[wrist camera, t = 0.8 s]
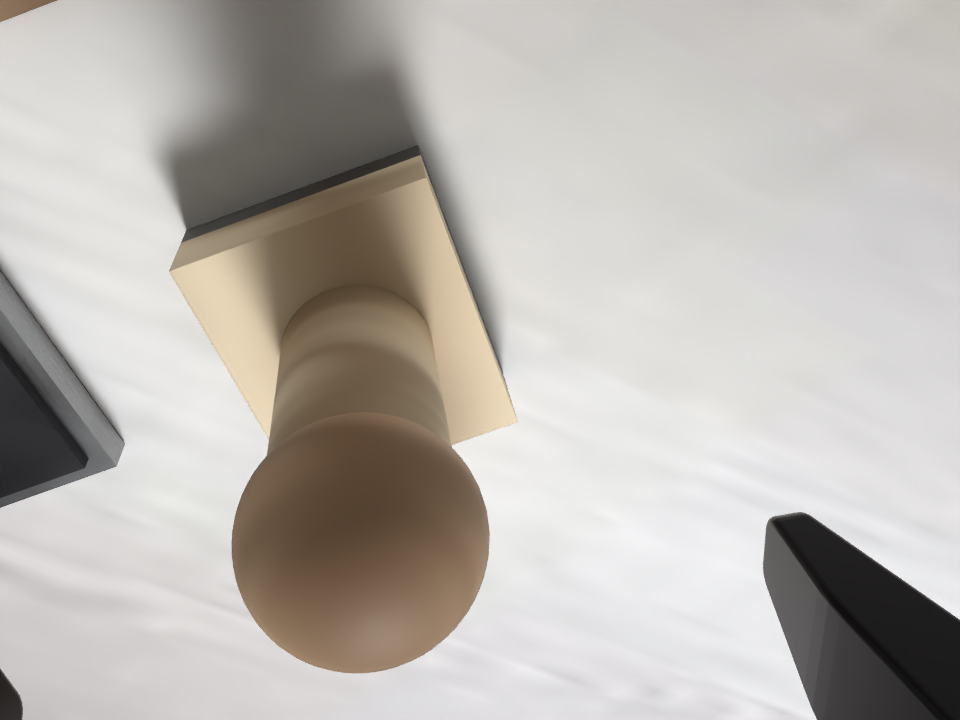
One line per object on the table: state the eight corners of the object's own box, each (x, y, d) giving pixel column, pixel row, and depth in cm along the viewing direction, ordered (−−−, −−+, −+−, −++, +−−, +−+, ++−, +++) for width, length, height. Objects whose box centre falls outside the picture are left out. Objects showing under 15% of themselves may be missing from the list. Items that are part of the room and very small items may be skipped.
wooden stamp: (306, 442, 24) (281, 815, 15) (186, 229, 20) (50, 546, 11) (502, 373, 24) (605, 708, 14) (417, 145, 20) (481, 396, 11)
